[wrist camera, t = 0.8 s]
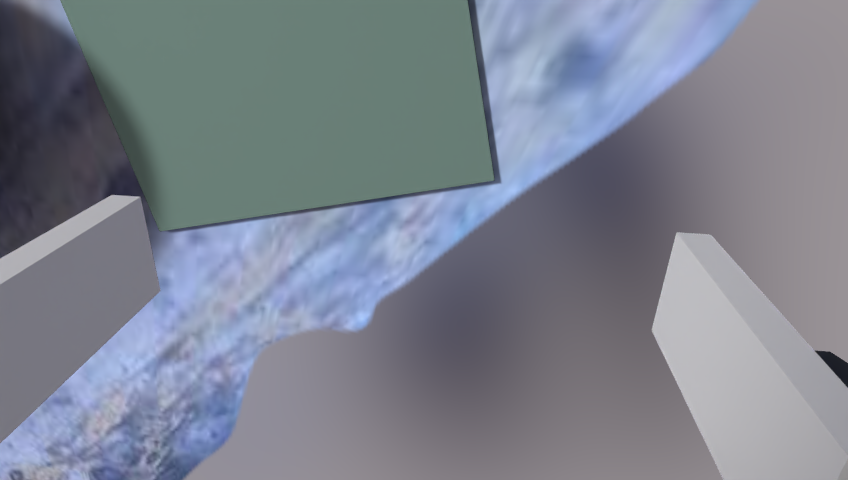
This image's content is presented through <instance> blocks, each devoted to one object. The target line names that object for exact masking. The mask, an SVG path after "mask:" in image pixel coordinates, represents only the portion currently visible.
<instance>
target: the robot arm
mask: <svg viewBox="0 0 848 480" xmlns="http://www.w3.org/2000/svg"><path fill="white" fill-rule="evenodd" d="M159 292H160V287H159V282H158V277H157V272H156V268H155V263H154V258H153V254H152V249H151V244H150V239H149V235H148V230H147V225H146V221H145V216H144V211H143V206H142V202H141V197H135V196H120V195H111V196H109V197H107V198H105V199H104V200H102V201H100V202H98V203H97V204H95V205H93V206H91V207H90V208H88V209H86V210H84V211H83V212H81V213H79V214H77V215H76V216H74V217H72V218H70V219H69V220H67V221H65V222H63V223H62V224H60V225H58V226H56V227H55V228H53V229H51V230H49V231H48V232H46V233H44V234H42V235H41V236H39V237H37V238H35V239H34V240H32V241H30V242H28V243H27V244H25V245H23V246H21V247H20V248H18V249H16V250H14V251H13V252H11V253H9V254H7V255H6V256H4V257H2V258H0V443H1V442H2V441H3V440H4V439H5V438H6V437H7V436H9V435H10V434H11V433H12V432H13V431H14V430H15V429H16V428H17V427H18V426H19V425H20V424H21V423H22V422H23V421H24V420H25V419H26V418H27V417H28V416H30V415H31V414H32V413H33V412H34V411H35V410H36V409H37V408H38V407H39V406H40V405H41V404H42V403H43V402H44V401H45V400H46V399H47V398H48V397H49V396H51V395H52V394H53V393H54V392H55V391H56V390H57V389H58V388H59V387H60V386H61V385H62V384H63V383H64V382H65V381H66V380H67V379H68V378H69V377H70V376H72V375H73V374H74V373H75V372H76V371H77V370H78V369H79V368H80V367H81V366H82V365H83V364H84V363H85V362H86V361H87V360H88V359H89V358H90V357H91V356H92V355H94V354H95V353H96V352H97V351H98V350H99V349H100V348H101V347H102V346H103V345H104V344H105V343H106V342H107V341H108V340H109V339H110V338H111V337H112V336H113V335H115V334H116V333H117V332H118V331H119V330H120V329H121V328H122V327H123V326H124V325H125V324H126V323H127V322H128V321H129V320H130V319H131V318H132V317H133V316H134V315H136V314H137V313H138V312H139V311H140V310H141V309H142V308H143V307H144V306H145V305H146V304H147V303H148V302H149V301H150V300H151V299H152V298H153V297H154V296H155V295H157V294H158V293H159ZM652 332H653V334H654V336H655V338H656V340H657V342H658V344H659V347H660V348H661V351H662V353H663V355H664V357H665V359H666V361H667V363H668V365H669V367H670V369H671V372H672V374H673V375H674V377H675V380H676V382H677V384H678V386H679V388H680V390H681V392H682V394H683V397H684V398H685V401H686V403H687V405H688V407H689V409H690V411H691V413H692V415H693V417H694V419H695V422H696V423H697V426H698V428H699V430H700V432H701V434H702V436H703V438H704V440H705V442H706V444H707V447H708V448H709V451H710V453H711V455H712V457H713V459H714V461H715V463H716V465H717V467H718V469H719V472H720V474H721V476H722V478H723V480H848V363H847V362H845V361H844V360H842V359H840V358H839V357H837V356H836V355H834V354H833V353H831V352H825V351H814V350H813V349H812V347H811V346H810V345H809V344H808V343H807V342H806V341H805V340H804V339H803V337H802V336H801V335H800V334H799V333H798V332H797V331H796V330H795V328H793V326H792V325H791V324H790V323H789V322H788V321H787V320H786V318H785V317H784V316H783V315H782V314H781V313H780V312H779V311H778V309H777V308H776V307H775V306H774V305H773V304H772V303H771V302H770V301H769V299H768V298H767V297H766V296H765V295H764V294H763V293H762V292H761V290H760V289H759V288H758V287H757V286H756V285H755V284H754V283H753V281H751V279H750V278H749V277H748V276H747V275H746V274H745V273H744V271H743V270H742V269H741V268H740V267H739V266H738V265H737V264H736V263H735V261H734V260H733V259H732V258H731V257H730V256H729V255H728V254H727V252H725V250H724V249H723V248H722V247H721V246H720V245H719V244H718V242H717V241H716V240H715V239H714V238H713V237H712V236H711V235H708V234H693V233H676V237H675V241H674V245H673V249H672V253H671V257H670V261H669V264H668V268H667V272H666V276H665V280H664V284H663V288H662V292H661V296H660V300H659V304H658V307H657V312H656V315H655V320H654V324H653V327H652Z"/></svg>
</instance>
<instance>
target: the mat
mask: <svg viewBox="0 0 848 480" xmlns="http://www.w3.org/2000/svg"><path fill="white" fill-rule="evenodd" d="M60 1H61V3H62V6H63V8H64V10H65V12H66V15H67V17H68V19H69V22H70V24H71V26H72V29H73V31H74V33H75V36H76V38H77V40H78V43H79V45H80V47H81V50H82V52H83V54H84V57H85V59H86V61H87V64H88V66H89V68H90V71H91V73H92V75H93V78H94V80H95V82H96V85H97V87H98V89H99V92H100V94H101V96H102V98H103V101H104V103H105V105H106V108H107V110H108V112H109V115H110V117H111V119H112V122H113V124H114V126H115V129H116V131H117V133H118V136H119V138H120V140H121V143H122V145H123V147H124V150H125V152H126V154H127V157H128V159H129V161H130V164H131V166H132V168H133V171H134V173H135V175H136V178H137V180H138V182H139V184H140V187H141V189H142V191H143V194H144V196H145V198H146V201H147V203H148V205H149V208H150V210H151V212H152V215H153V217H154V219H155V222H156V224H157V226H158V229H159V231H166V230H172V229H179V228H186V227H192V226H199V225H205V224H212V223H218V222H225V221H232V220H238V219H245V218H251V217H258V216H264V215H271V214H278V213H284V212H291V211H297V210H304V209H310V208H317V207H324V206H330V205H337V204H343V203H350V202H356V201H363V200H370V199H376V198H383V197H389V196H396V195H402V194H409V193H416V192H422V191H429V190H435V189H442V188H448V187H455V186H462V185H468V184H475V183H481V182H488V181H494V173H493V166H492V160H491V153H490V146H489V139H488V133H487V126H486V119H485V113H484V106H483V99H482V93H481V86H480V79H479V72H478V66H477V59H476V52H475V46H474V39H473V32H472V25H471V19H470V12H469V5H468V0H60Z"/></svg>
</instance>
